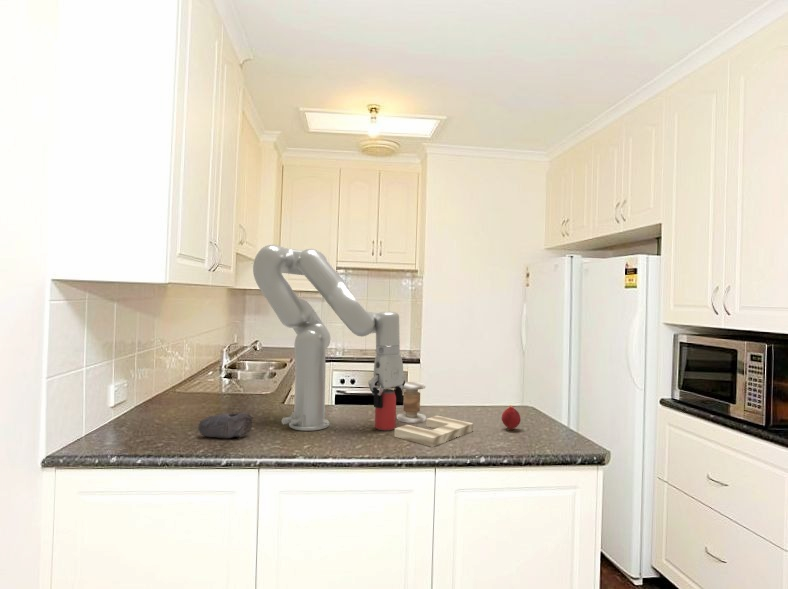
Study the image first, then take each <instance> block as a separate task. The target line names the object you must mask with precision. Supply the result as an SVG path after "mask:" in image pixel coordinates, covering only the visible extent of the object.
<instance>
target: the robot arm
mask: <svg viewBox="0 0 788 589" xmlns="http://www.w3.org/2000/svg"><path fill="white" fill-rule="evenodd" d="M252 273H253V277H254V280H255V283H256V285H257V286H258V288H259V290H260V291H261V293H262V294H263V296H264V297H265V299H266V301H267V302H268V304H269V305H270V307H271V309H272V310H273V312H274V313H275V315H276V316H277V317H278V320H279V321H280V322H281V324H282V325H283V326H285V327H287V328H289V329H290V328H291V329H293V331H294V332H295V334H296V336H295V339H294V361H295V362H294V363H295V364H294V365H295V366H294V373H295V374H294V375H295V376H294V378H295V379H294V411H292V412H291V415H289V416H288V417H287V416H286V417H282V419H281V424H282V425H288V426H289V428H290V429H293V430H294V431H295V430H296V431H304V432H305V431H306V432H307V431H308V432H309V431H311V432H312V431H320V430H324V429H326V428H328V427H329V426H330V420H328V419H326V418H325V413H326V412H325V410H326V409H325V408H326V407H325V406H326V405H325V404H326V374H327V373H326V371H327V370H326V367H327V365H326V350H327V349H328V347H329V345H330V343H331V335H330V334H331V333H330V332H329V330H328V328H327V327H326V325H325V324H324V322H323V320H322V319H321V318H320V317H319V315H318V313H317V311H315V309H314V307H313V306H312V305H311V304H310V302H308V301H307V300H305V299H304V298H299V296H297V294H296V292H295V291H294V290H293V288H292V286H291V285H290V284H289V282H288V281H287V280H286V279H285V277H284V275H283V274H288V275H297V276H299V275H300V276H304V277H305V278H306V279H307V280H308V282H310V284H311V285H312V286H313V287H314V288H315V289H316V290H317V292H318V293H319V294H320V295H321V296H322V297H323V299H324V300H325V302H326V303H327V304H328V305H329V307H330V308H331V309H332V310H333V312H334V313H335V314H336V315H337V317H338V318H339V319H340V320H341V322H342V323H344V325H345V326H346V327H347V328H348V330H349V331H350V332H351V333H353V334H354V335H355V336H357V337H366V336H369V335H371V334H375V358H374V365H373V377H372V378H371V379H370V380H369V381H368V386H369V390H370V392H371V394H372V395H373V408H375V407H376V408H383V395H381V393H382V391H383V389H391V388H394V389H393V390H394V391H395V395H396V403H400V404H401V403H403V402H404V399H403V391H404V390H405V389H404V387H403V386H404V384H405V382H406V380H407V374H405V373H404V364H403V358H402V354H401V353H400V351H401V349H400V348H401V347H400V340H401V339H400V315H399V313H398V312H395V311H381V312H372V311H367V310H365V308H364V307H363V306H362V305H361V303H359V301H358V300H357V299H356V297H355V296H354V295H353V294H352V292H351V291H350V290H349V286H348V284H347V282H346V281H345V280H344V278H342V276H341V275H340V274H339V273H338V272H337V271H336V270H335V269H334V267H333V266H332V265H331V264H330V263H329V262H328V260H327V257H326V255H324V253H322V252H321V251H319V250H316V249H314V248H307V249H304V250H302V249H293V248H285V247H283V246H280V245H277V244H268V245H265V246H263V247H261V248H260V250H259V251H258V252H257V254H256V256H255V257H254V260H253V266H252ZM378 390H379V391H378Z"/></svg>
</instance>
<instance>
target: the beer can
mask: <svg viewBox="0 0 788 589" xmlns="http://www.w3.org/2000/svg"><path fill="white" fill-rule="evenodd" d="M378 391H379V389H378ZM381 395H383V408H376V407H374V408H375V410H374V411H375V412H374V428H376V430H379V431H383V432H384V431H387V432H388V431H392V430H395V428H396V423H397V422H396V419H397V413H396V412H397V402H396V395H395V391H394V389H391V388H387V389H386V388H384V389H383V391H382V393H381Z"/></svg>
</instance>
